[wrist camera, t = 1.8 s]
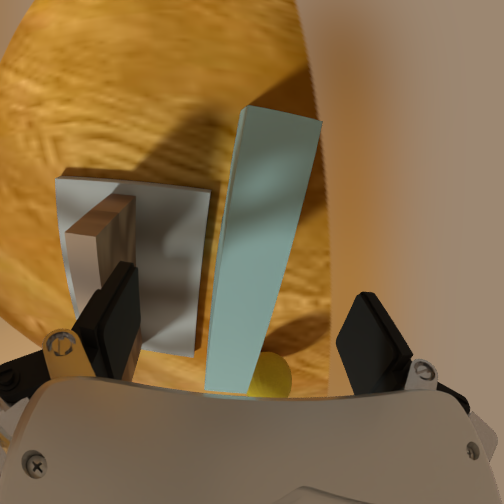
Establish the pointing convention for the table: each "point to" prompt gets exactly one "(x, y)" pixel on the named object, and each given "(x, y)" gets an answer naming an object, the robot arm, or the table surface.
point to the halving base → (137, 252)
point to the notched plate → (256, 238)
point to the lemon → (270, 377)
